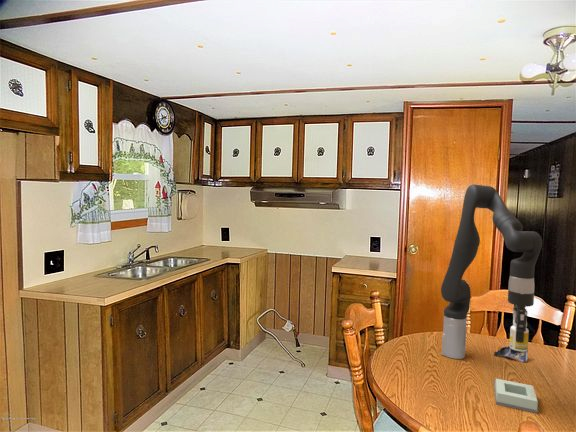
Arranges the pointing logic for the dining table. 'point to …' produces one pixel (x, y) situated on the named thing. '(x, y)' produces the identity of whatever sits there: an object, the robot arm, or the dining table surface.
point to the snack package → (512, 354)
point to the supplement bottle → (518, 345)
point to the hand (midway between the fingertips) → (518, 338)
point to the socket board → (515, 395)
